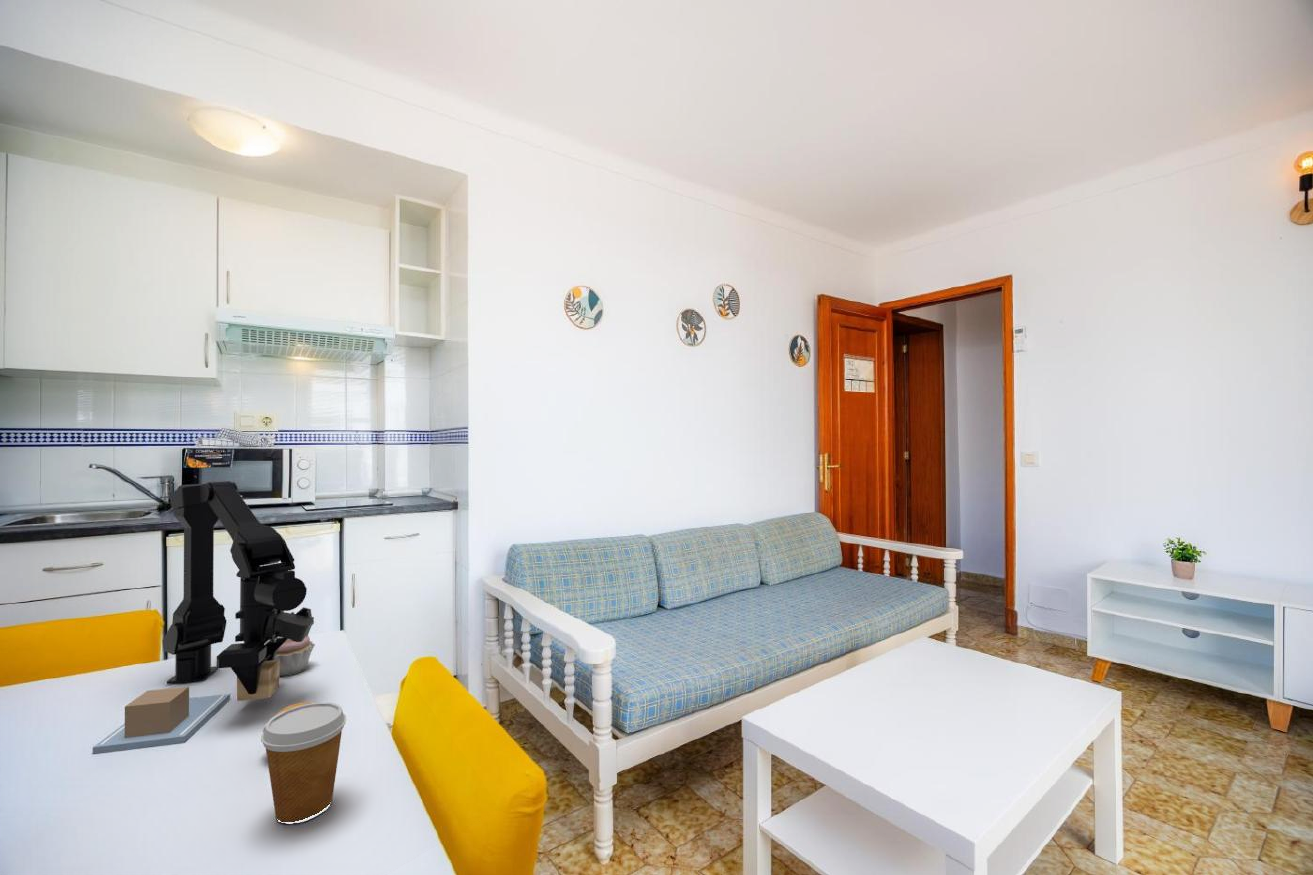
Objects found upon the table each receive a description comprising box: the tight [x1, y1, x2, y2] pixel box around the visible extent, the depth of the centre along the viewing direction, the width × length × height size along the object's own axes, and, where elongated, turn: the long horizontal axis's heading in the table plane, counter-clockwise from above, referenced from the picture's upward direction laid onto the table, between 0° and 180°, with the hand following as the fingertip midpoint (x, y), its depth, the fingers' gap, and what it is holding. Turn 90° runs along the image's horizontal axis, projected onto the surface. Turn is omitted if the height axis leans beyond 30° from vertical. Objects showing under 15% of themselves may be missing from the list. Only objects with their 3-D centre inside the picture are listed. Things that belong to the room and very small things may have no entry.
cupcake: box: [274, 635, 316, 677], centre depth 119 cm, size 9×9×10 cm
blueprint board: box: [92, 686, 231, 755], centre depth 96 cm, size 16×12×6 cm
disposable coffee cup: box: [260, 702, 347, 822], centre depth 74 cm, size 10×10×12 cm
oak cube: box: [236, 660, 280, 702], centre depth 103 cm, size 5×5×5 cm
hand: (258, 687), depth 103 cm, fingers closed on oak cube, 5 cm apart
